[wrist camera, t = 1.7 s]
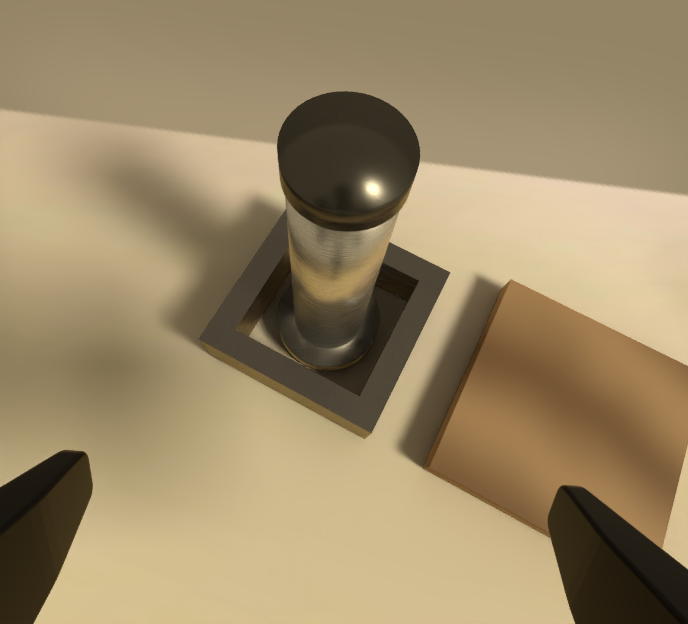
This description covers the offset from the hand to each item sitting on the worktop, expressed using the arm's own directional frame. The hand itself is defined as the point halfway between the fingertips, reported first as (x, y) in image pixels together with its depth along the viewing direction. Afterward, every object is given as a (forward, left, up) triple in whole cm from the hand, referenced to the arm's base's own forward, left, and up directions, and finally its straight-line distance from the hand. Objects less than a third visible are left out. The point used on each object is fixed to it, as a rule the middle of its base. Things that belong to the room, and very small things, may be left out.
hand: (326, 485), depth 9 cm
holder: (+7, +3, -13) cm, 15 cm away
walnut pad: (+8, -9, -13) cm, 17 cm away
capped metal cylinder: (+7, +3, -13) cm, 15 cm away
